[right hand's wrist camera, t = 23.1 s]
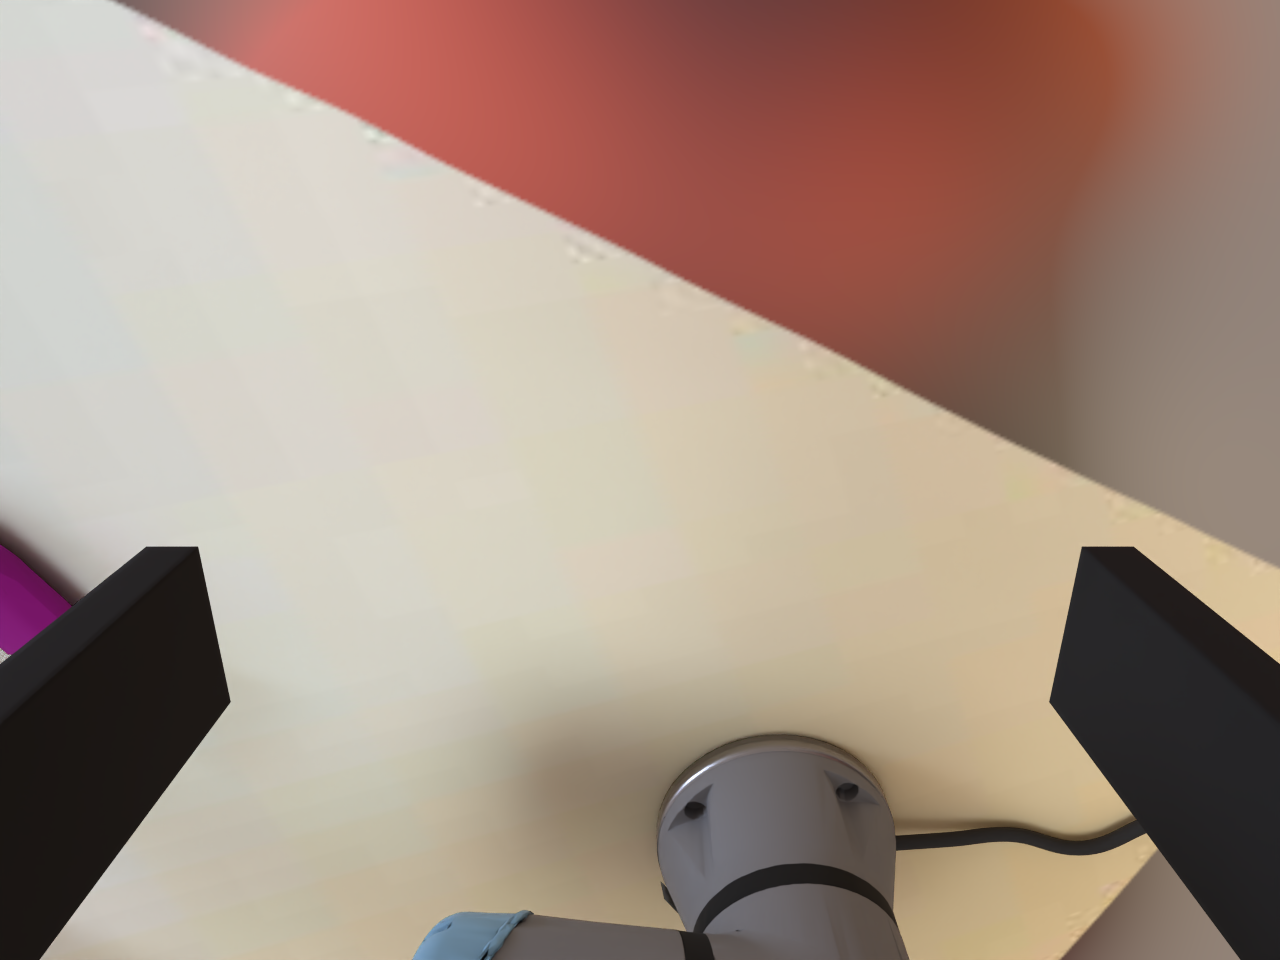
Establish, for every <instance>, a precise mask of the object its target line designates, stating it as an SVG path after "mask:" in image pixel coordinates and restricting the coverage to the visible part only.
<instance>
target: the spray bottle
mask: <svg viewBox="0 0 1280 960" xmlns="http://www.w3.org/2000/svg"><path fill="white" fill-rule="evenodd" d="M71 607H72V606H71V605H70V604H69V603H68V602H67V601H66V600H65V599H64V598H63V597H62V596H60V595H59V594H58V593H57V592H56V591H55V590H54V589H52V588H51V587H50V586H49V585H48V584H47V583H46V582H45V581H44V580H42V579H41V578H40V577H39V576H38V575H37V574H36V573H35V572H34V571H32V570H31V569H30V568H29V567H28V566H27V565H26V564H25V563H24V562H23V561H22V560H21V559H20V558H18V557H17V556H16V555H15V554H13V553H12V552H10V551H9V550H7V549H6V548H5V547H3V546H2V545H0V648H1V649H2V650H3V651H5V652H6V653H7V654H10V655H12V654H13V653H15V652H16V651H17V650H18V649H20V648H21V647H22V646H23V645H25V644H26V643H27V642H28V641H30V640H31V639H32V638H33V637H35V636H36V635H37V634H38V633H40V632H41V631H42V630H43V629H45V628H46V627H47V626H48V625H50V624H51V623H52V622H53V621H55V620H56V619H57V618H58V617H60V616H61V615H62V614H63V613H65V612H66V611H67V610H68V609H69V608H71Z"/></svg>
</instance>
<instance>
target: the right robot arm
mask: <svg viewBox="0 0 1280 960" xmlns="http://www.w3.org/2000/svg"><path fill="white" fill-rule="evenodd" d="M230 702H231V701H230V696H229V692H228V687H227V682H226V677H225V673H224V668H223V663H222V658H221V654H220V649H219V644H218V639H217V635H216V630H215V625H214V620H213V616H212V611H211V606H210V601H209V597H208V592H207V587H206V582H205V578H204V573H203V568H202V563H201V558H200V554H199V549H198V547H145V548H144V549H143V550H142V551H140V552H139V553H138V554H137V555H135V556H134V557H133V558H132V559H130V560H129V561H128V562H127V563H126V564H124V565H123V566H122V567H121V568H119V569H118V570H117V571H116V572H114V573H113V574H112V575H111V576H109V577H108V578H107V579H106V580H104V581H103V582H102V583H101V584H99V585H98V586H97V587H96V588H94V589H93V590H92V591H91V592H89V593H88V594H87V595H86V596H84V597H83V598H82V599H81V600H79V601H78V602H77V603H76V604H74V605H73V606H72V607H71V608H69V609H68V610H67V611H66V612H65V613H63V614H62V615H61V616H60V617H58V618H57V619H56V620H55V621H53V622H52V623H51V624H50V625H48V626H47V627H46V628H45V629H43V630H42V631H41V632H40V633H38V634H37V635H36V636H35V637H33V638H32V639H31V640H30V641H28V642H27V643H26V644H25V645H23V646H22V647H21V648H20V649H18V650H17V651H16V652H15V653H13V654H12V655H11V656H10V657H8V658H7V659H6V660H5V661H3V662H2V663H1V664H0V960H40V958H41V957H42V956H43V954H44V953H45V952H46V950H47V949H48V947H49V946H50V945H51V943H52V942H53V941H54V939H55V938H56V937H57V935H58V934H59V933H60V931H61V930H62V929H63V927H64V926H65V925H66V923H67V922H68V921H69V919H70V918H71V917H72V915H73V914H74V912H75V911H76V910H77V908H78V907H79V906H80V904H81V903H82V902H83V900H84V899H85V898H86V896H87V895H88V894H89V892H90V891H91V890H92V888H93V887H94V886H95V884H96V883H97V881H98V880H99V879H100V877H101V876H102V875H103V873H104V872H105V871H106V869H107V868H108V867H109V865H110V864H111V863H112V861H113V860H114V859H115V857H116V856H117V855H118V853H119V852H120V850H121V849H122V848H123V846H124V845H125V844H126V842H127V841H128V840H129V838H130V837H131V836H132V834H133V833H134V832H135V830H136V829H137V828H138V826H139V825H140V824H141V822H142V821H143V819H144V818H145V817H146V815H147V814H148V813H149V811H150V810H151V809H152V807H153V806H154V805H155V803H156V802H157V801H158V799H159V798H160V797H161V795H162V794H163V793H164V791H165V790H166V788H167V787H168V786H169V784H170V783H171V782H172V780H173V779H174V778H175V776H176V775H177V774H178V772H179V771H180V770H181V768H182V767H183V766H184V764H185V763H186V762H187V760H188V759H189V757H190V756H191V755H192V753H193V752H194V751H195V749H196V748H197V747H198V745H199V744H200V743H201V741H202V740H203V739H204V737H205V736H206V735H207V733H208V732H209V731H210V729H211V728H212V726H213V725H214V724H215V722H216V721H217V720H218V718H219V717H220V716H221V714H222V713H223V712H224V710H225V709H226V708H227V706H228V705H229V704H230ZM1049 702H1050V704H1051V705H1052V706H1053V708H1054V709H1055V710H1056V712H1057V713H1058V714H1059V716H1060V717H1061V718H1062V720H1063V721H1064V722H1065V724H1066V725H1067V726H1068V728H1069V729H1070V731H1071V732H1072V733H1073V735H1074V736H1075V737H1076V739H1077V740H1078V741H1079V743H1080V744H1081V745H1082V747H1083V748H1084V749H1085V751H1086V752H1087V753H1088V755H1089V756H1090V757H1091V759H1092V760H1093V762H1094V763H1095V764H1096V766H1097V767H1098V768H1099V770H1100V771H1101V772H1102V774H1103V775H1104V776H1105V778H1106V779H1107V780H1108V782H1109V783H1110V784H1111V786H1112V787H1113V788H1114V790H1115V791H1116V793H1117V794H1118V795H1119V797H1120V798H1121V799H1122V801H1123V802H1124V803H1125V805H1126V806H1127V807H1128V809H1129V810H1130V811H1131V813H1132V814H1133V815H1134V817H1135V818H1136V819H1137V820H1135V821H1133V822H1131V823H1129V824H1127V825H1125V826H1123V827H1121V828H1119V829H1117V830H1115V831H1113V832H1111V833H1109V834H1107V835H1104V836H1101V837H1098V838H1095V839H1091V840H1084V841H1068V840H1062V839H1057V838H1054V837H1050V836H1047V835H1044V834H1041V833H1038V832H1034V831H1030V830H1026V829H1020V828H1011V827H991V828H980V829H972V830H964V831H955V832H944V833H930V834H915V835H900V836H895V828H894V822H893V818H892V814H891V812H890V809H889V807H888V804H887V801H886V799H885V796H884V794H883V791H882V789H881V787H880V785H879V783H878V782H877V780H876V779H875V777H874V776H873V775H872V773H871V772H870V771H869V770H868V769H867V768H866V767H865V766H864V765H863V764H862V763H861V762H859V761H858V760H857V759H856V758H854V757H853V756H851V755H850V754H849V753H847V752H845V751H843V750H842V749H840V748H838V747H835V746H833V745H831V744H828V743H825V742H822V741H819V740H816V739H812V738H807V737H801V736H793V735H766V736H757V737H751V738H747V739H743V740H739V741H735V742H732V743H729V744H727V745H724V746H722V747H720V748H717V749H715V750H713V751H711V752H710V753H708V754H706V755H704V756H703V757H701V758H700V759H698V760H697V761H695V762H694V763H693V764H692V765H690V766H689V767H688V768H687V769H686V770H685V771H684V772H683V773H682V774H681V775H680V776H679V777H678V778H677V779H676V781H675V782H674V783H673V784H672V786H671V787H670V789H669V790H668V792H667V794H666V796H665V798H664V800H663V802H662V805H661V808H660V811H659V815H658V821H657V854H658V861H659V865H660V869H661V872H662V876H663V879H664V882H665V884H666V886H667V887H666V886H665V885H664V884H663V883H662V882H661V886H662V890H663V895H664V899H665V900H666V901H667V902H668V903H669V904H670V905H671V906H672V907H673V908H674V909H675V910H676V911H677V912H678V913H679V915H680V918H681V920H682V922H683V924H684V927H685V929H686V931H687V932H685V931H679V930H672V929H662V928H652V927H641V926H631V925H621V924H610V923H600V922H591V921H582V920H574V919H566V918H557V917H549V916H540V915H534V913H532V912H531V911H527V910H523V911H520V912H518V913H516V914H509V913H481V912H460V913H456V914H453V915H451V916H448V917H446V918H445V919H443V920H442V921H440V922H439V923H438V924H437V925H436V926H435V927H433V929H432V930H431V931H430V932H429V933H428V935H427V936H426V937H425V939H424V940H423V942H422V944H421V945H420V946H419V948H418V950H417V952H416V953H415V955H414V957H413V959H412V960H909V957H908V954H907V951H906V948H905V945H904V942H903V940H902V937H901V934H900V932H899V929H898V926H897V922H896V919H895V916H894V913H893V901H894V880H895V858H896V851H897V850H911V849H926V848H940V847H953V846H963V845H971V844H979V843H987V842H1018V843H1024V844H1028V845H1032V846H1035V847H1038V848H1041V849H1045V850H1048V851H1051V852H1055V853H1060V854H1066V855H1091V854H1098V853H1102V852H1105V851H1108V850H1111V849H1114V848H1116V847H1119V846H1121V845H1123V844H1125V843H1127V842H1129V841H1131V840H1133V839H1135V838H1137V837H1139V836H1141V835H1143V834H1145V833H1147V834H1148V836H1149V837H1150V838H1151V840H1152V841H1153V842H1154V844H1155V845H1156V846H1157V848H1158V849H1159V850H1160V852H1161V853H1162V855H1163V856H1164V857H1165V859H1166V860H1167V861H1168V863H1169V864H1170V865H1171V867H1172V868H1173V869H1174V871H1175V872H1176V873H1177V875H1178V876H1179V877H1180V879H1181V880H1182V881H1183V883H1184V884H1185V886H1186V887H1187V888H1188V890H1189V891H1190V892H1191V894H1192V895H1193V896H1194V898H1195V899H1196V900H1197V902H1198V903H1199V904H1200V906H1201V907H1202V908H1203V910H1204V911H1205V912H1206V914H1207V915H1208V917H1209V918H1210V919H1211V921H1212V922H1213V923H1214V925H1215V926H1216V927H1217V929H1218V930H1219V931H1220V933H1221V934H1222V935H1223V937H1224V938H1225V939H1226V941H1227V942H1228V943H1229V945H1230V946H1231V947H1232V949H1233V950H1234V952H1235V953H1236V954H1237V955H1238V957H1239V958H1240V960H1280V664H1279V663H1278V662H1277V661H1275V660H1274V659H1273V658H1272V657H1270V656H1269V655H1268V654H1267V653H1265V652H1264V651H1263V650H1262V649H1260V648H1259V647H1258V646H1257V645H1255V644H1254V643H1253V642H1252V641H1250V640H1249V639H1248V638H1247V637H1245V636H1244V635H1243V634H1242V633H1240V632H1239V631H1238V630H1237V629H1235V628H1234V627H1233V626H1232V625H1230V624H1229V623H1228V622H1227V621H1225V620H1224V619H1223V618H1222V617H1220V616H1219V615H1218V614H1217V613H1215V612H1214V611H1213V610H1212V609H1211V608H1209V607H1208V606H1207V605H1206V604H1204V603H1203V602H1202V601H1201V600H1199V599H1198V598H1197V597H1196V596H1194V595H1193V594H1192V593H1191V592H1189V591H1188V590H1187V589H1186V588H1184V587H1183V586H1182V585H1181V584H1179V583H1178V582H1177V581H1176V580H1174V579H1173V578H1172V577H1171V576H1169V575H1168V574H1167V573H1166V572H1164V571H1163V570H1162V569H1161V568H1159V567H1158V566H1157V565H1156V564H1154V563H1153V562H1152V561H1151V560H1150V559H1148V558H1147V557H1146V556H1145V555H1143V554H1142V553H1141V552H1140V551H1138V550H1137V549H1136V548H1135V547H1082V549H1081V554H1080V558H1079V563H1078V568H1077V573H1076V578H1075V582H1074V587H1073V592H1072V597H1071V601H1070V606H1069V611H1068V616H1067V620H1066V625H1065V630H1064V635H1063V639H1062V644H1061V649H1060V654H1059V658H1058V663H1057V668H1056V673H1055V677H1054V682H1053V687H1052V692H1051V696H1050V701H1049Z"/></svg>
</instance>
